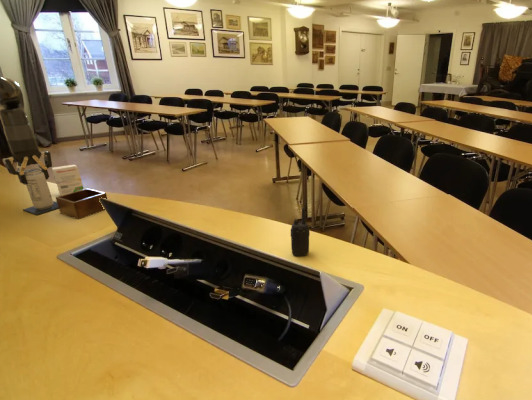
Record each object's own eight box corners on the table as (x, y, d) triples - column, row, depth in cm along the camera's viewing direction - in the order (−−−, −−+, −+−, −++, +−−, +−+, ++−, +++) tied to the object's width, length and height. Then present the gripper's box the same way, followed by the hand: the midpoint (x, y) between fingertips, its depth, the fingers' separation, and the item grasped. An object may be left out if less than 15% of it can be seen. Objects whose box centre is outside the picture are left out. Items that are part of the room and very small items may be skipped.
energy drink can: (58, 205, 127) (46, 169, 121) (41, 211, 122) (28, 173, 116) (47, 203, 129) (35, 167, 123) (30, 208, 123) (17, 171, 118)
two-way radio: (308, 250, 98) (308, 205, 92) (310, 258, 94) (310, 211, 88) (290, 251, 97) (289, 206, 91) (291, 259, 93) (290, 212, 87)
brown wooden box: (78, 219, 117) (73, 203, 114) (60, 213, 121) (55, 197, 119) (109, 207, 126) (105, 192, 124) (92, 202, 131) (88, 188, 129)
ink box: (82, 188, 146) (75, 163, 142) (84, 191, 143) (77, 166, 138) (59, 193, 141) (51, 167, 136) (60, 196, 137) (52, 169, 133)
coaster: (36, 215, 119) (36, 214, 119) (23, 210, 123) (22, 209, 123) (66, 206, 127) (66, 205, 127) (52, 201, 131) (52, 200, 131)
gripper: (38, 133, 122) (52, 175, 129) (-11, 139, 110) (7, 185, 117) (49, 135, 119) (62, 177, 126) (0, 142, 107) (17, 189, 114)
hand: (35, 181), depth 121 cm, fingers closed on energy drink can, 6 cm apart
